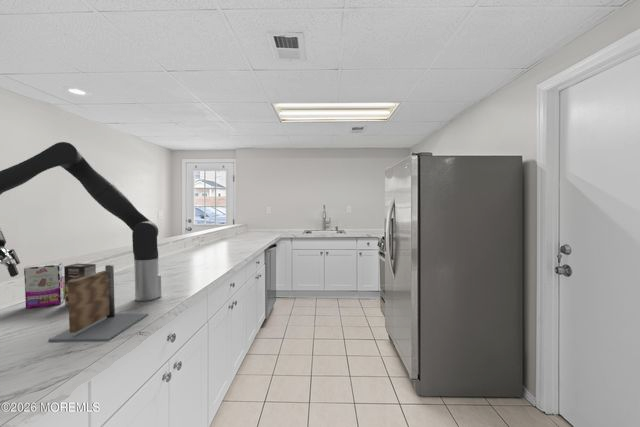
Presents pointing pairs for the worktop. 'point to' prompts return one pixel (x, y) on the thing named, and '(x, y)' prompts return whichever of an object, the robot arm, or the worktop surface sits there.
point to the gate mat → (101, 328)
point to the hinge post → (111, 290)
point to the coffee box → (76, 274)
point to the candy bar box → (43, 285)
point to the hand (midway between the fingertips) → (4, 275)
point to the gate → (88, 300)
